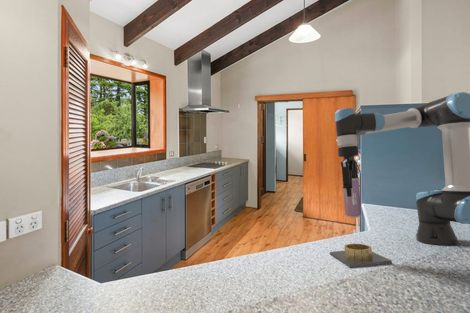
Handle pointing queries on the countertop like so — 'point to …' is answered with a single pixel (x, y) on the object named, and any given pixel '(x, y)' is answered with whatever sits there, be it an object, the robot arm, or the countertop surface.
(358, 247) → the pipe socket
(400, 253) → the countertop surface
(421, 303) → the countertop surface
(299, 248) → the countertop surface
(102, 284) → the countertop surface
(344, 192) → the beverage can
